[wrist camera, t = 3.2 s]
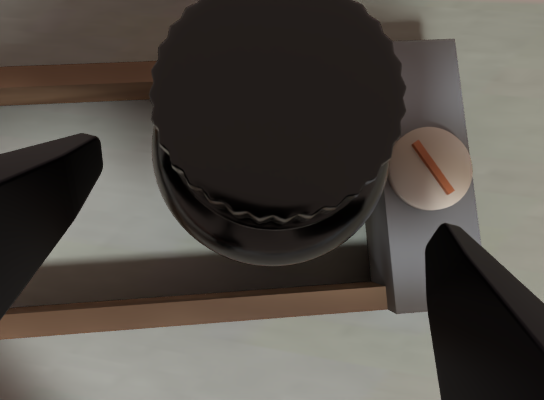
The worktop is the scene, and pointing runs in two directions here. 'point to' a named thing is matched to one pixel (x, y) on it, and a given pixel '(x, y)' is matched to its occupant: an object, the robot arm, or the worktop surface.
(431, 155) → the wooden frame
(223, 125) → the supplement bottle
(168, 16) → the worktop surface
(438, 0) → the worktop surface
